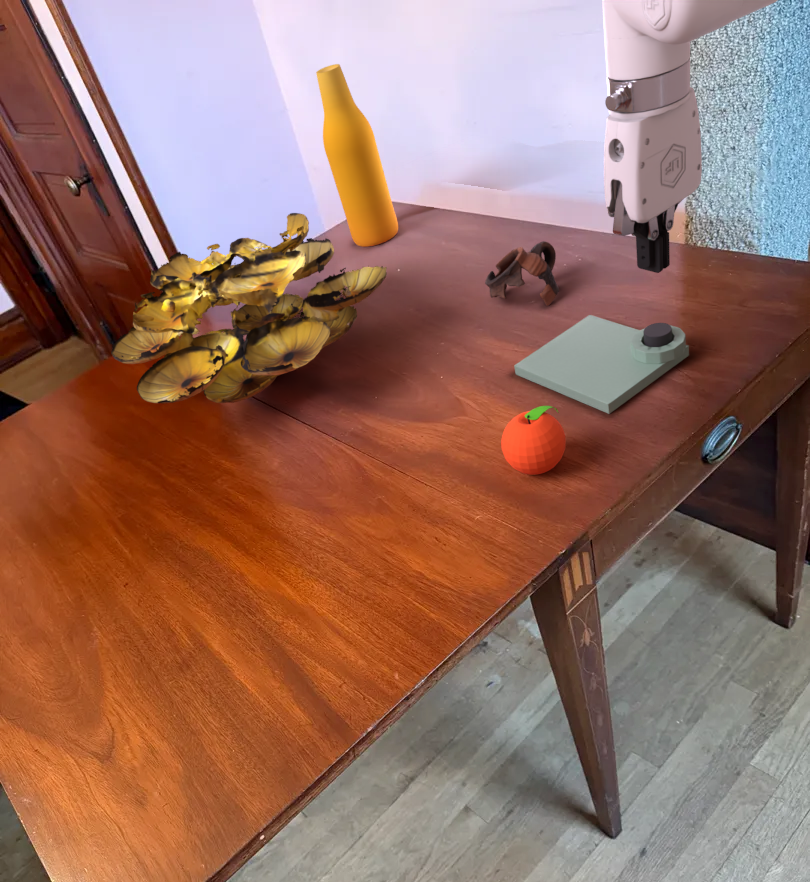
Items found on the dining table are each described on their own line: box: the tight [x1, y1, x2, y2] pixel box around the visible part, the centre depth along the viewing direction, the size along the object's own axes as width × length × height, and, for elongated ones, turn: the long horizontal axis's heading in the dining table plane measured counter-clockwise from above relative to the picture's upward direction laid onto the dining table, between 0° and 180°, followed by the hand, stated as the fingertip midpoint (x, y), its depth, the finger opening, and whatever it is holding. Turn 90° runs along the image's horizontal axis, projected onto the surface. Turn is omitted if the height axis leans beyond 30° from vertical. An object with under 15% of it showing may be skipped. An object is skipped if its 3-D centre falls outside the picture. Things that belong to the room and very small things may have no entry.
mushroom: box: [110, 212, 388, 404], centre depth 111 cm, size 41×45×17 cm
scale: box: [513, 314, 690, 415], centre depth 93 cm, size 16×15×3 cm
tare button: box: [643, 322, 672, 347], centre depth 89 cm, size 3×3×2 cm
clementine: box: [500, 405, 567, 476], centre depth 81 cm, size 8×7×7 cm
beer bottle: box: [315, 63, 399, 248], centre depth 135 cm, size 9×9×29 cm
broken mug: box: [484, 240, 560, 307], centre depth 111 cm, size 12×10×8 cm
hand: (653, 267), depth 84 cm, fingers closed
